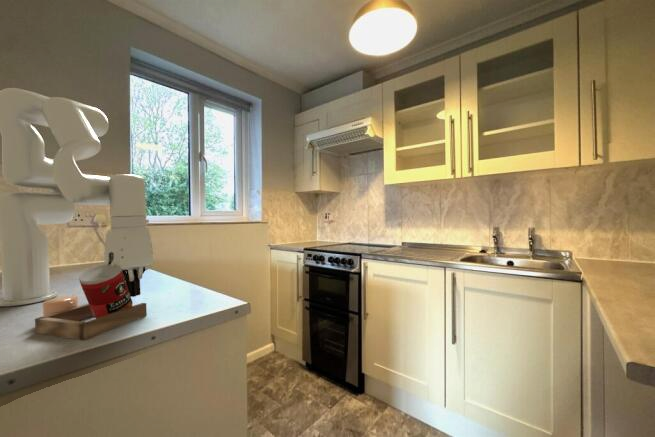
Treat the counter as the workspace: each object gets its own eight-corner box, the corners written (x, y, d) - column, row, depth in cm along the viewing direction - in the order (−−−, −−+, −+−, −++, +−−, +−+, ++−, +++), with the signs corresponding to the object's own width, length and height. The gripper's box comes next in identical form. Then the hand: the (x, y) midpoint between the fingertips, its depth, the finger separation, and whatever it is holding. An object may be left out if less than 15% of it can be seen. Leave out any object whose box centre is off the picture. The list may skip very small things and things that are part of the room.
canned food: (116, 323, 65) (101, 283, 61) (85, 321, 66) (68, 280, 62) (141, 302, 72) (129, 264, 68) (113, 300, 73) (99, 262, 69)
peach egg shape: (36, 324, 65) (36, 302, 65) (67, 315, 71) (66, 295, 71) (55, 326, 63) (54, 304, 63) (84, 317, 69) (84, 296, 69)
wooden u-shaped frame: (35, 332, 60) (35, 318, 60) (103, 310, 73) (103, 299, 73) (83, 340, 56) (83, 325, 56) (146, 315, 70) (146, 303, 70)
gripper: (143, 223, 80) (146, 287, 81) (86, 225, 66) (90, 304, 66) (165, 222, 79) (168, 288, 79) (111, 224, 64) (115, 305, 64)
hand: (132, 295), depth 72 cm, fingers closed
